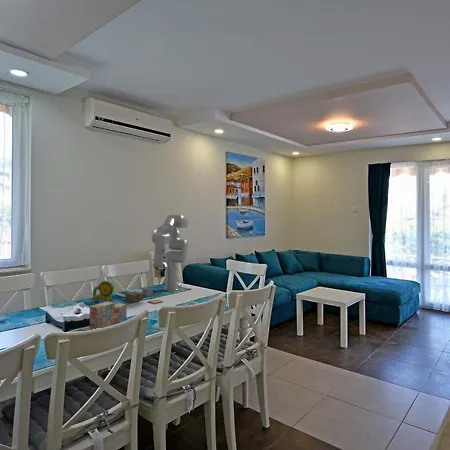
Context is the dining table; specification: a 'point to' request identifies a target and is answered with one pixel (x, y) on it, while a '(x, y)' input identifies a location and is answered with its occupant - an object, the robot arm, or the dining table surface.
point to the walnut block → (134, 296)
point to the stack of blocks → (107, 314)
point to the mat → (155, 301)
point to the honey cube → (157, 273)
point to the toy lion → (103, 292)
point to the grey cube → (147, 291)
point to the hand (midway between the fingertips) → (159, 275)
